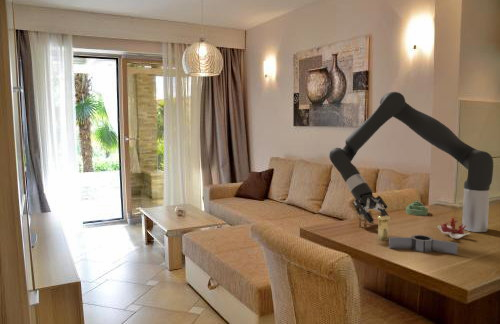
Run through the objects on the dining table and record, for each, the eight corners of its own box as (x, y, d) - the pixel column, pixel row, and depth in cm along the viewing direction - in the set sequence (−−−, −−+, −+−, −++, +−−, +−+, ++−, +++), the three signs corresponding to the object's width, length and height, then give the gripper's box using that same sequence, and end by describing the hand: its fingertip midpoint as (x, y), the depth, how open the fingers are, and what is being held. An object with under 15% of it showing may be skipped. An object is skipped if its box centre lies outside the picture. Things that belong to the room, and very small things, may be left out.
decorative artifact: (414, 216, 190) (432, 215, 192) (415, 202, 189) (432, 200, 191) (401, 211, 199) (418, 210, 202) (402, 198, 198) (419, 197, 201)
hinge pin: (378, 236, 157) (379, 214, 156) (390, 238, 155) (391, 216, 154) (374, 239, 153) (375, 216, 152) (387, 241, 151) (387, 218, 150)
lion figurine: (367, 230, 166) (368, 209, 165) (355, 229, 169) (355, 208, 168) (374, 222, 179) (375, 202, 178) (362, 221, 182) (363, 201, 181)
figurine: (463, 244, 147) (464, 226, 146) (430, 238, 155) (431, 221, 154) (474, 235, 158) (475, 219, 157) (443, 230, 166) (443, 214, 165)
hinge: (395, 241, 151) (395, 231, 150) (458, 251, 139) (459, 240, 138) (388, 248, 143) (388, 237, 143) (454, 259, 131) (454, 247, 130)
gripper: (350, 183, 157) (372, 217, 149) (376, 180, 164) (398, 213, 156) (341, 194, 162) (361, 228, 154) (366, 191, 170) (386, 223, 161)
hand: (379, 220), depth 155 cm, fingers open, 8 cm apart
